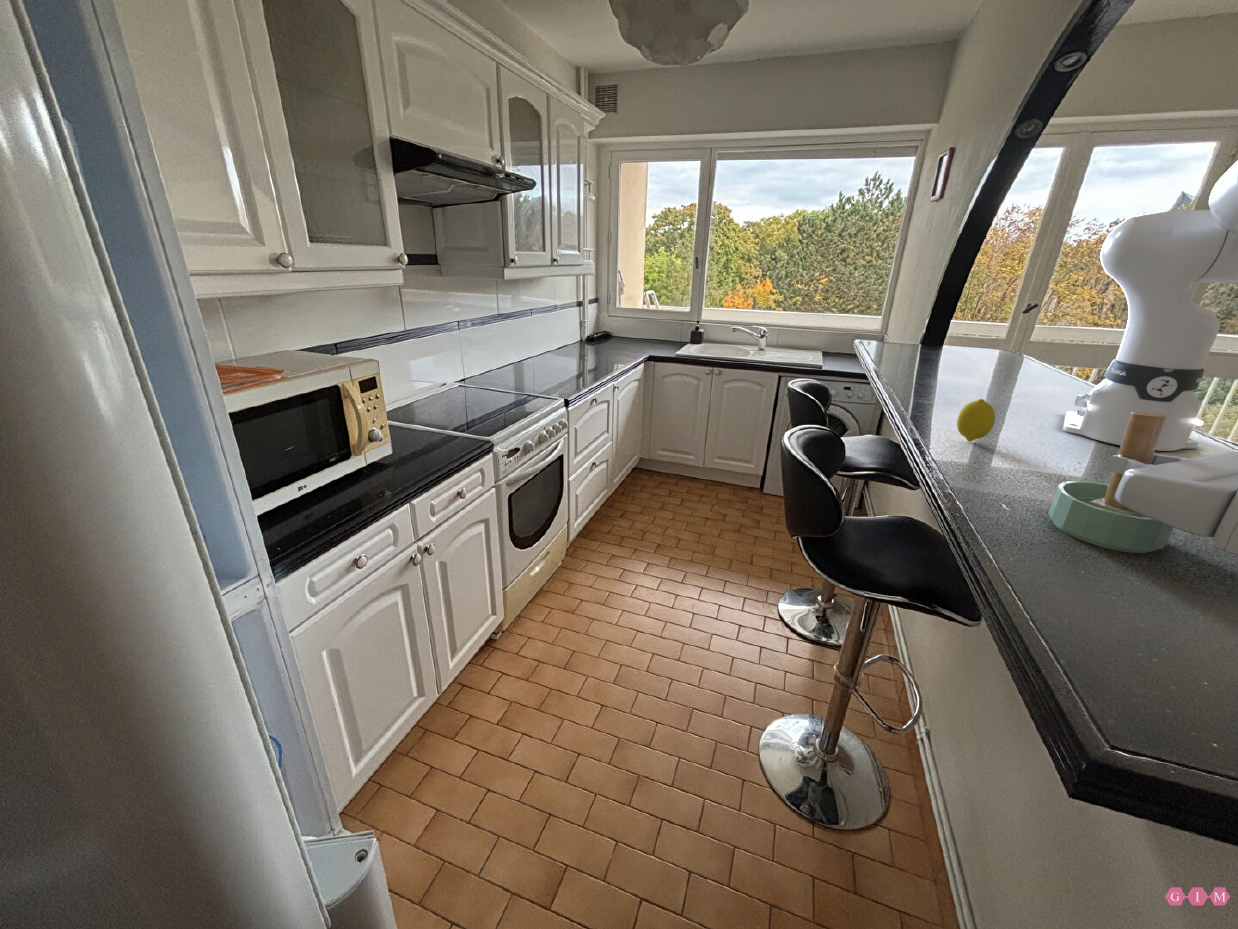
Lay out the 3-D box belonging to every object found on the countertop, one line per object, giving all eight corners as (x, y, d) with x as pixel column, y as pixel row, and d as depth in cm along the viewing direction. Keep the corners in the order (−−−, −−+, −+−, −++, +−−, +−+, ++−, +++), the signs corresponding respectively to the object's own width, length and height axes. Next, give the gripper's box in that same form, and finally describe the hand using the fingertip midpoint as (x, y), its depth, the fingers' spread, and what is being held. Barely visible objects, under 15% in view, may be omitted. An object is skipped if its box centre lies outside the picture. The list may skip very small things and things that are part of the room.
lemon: (993, 447, 90) (1006, 404, 87) (959, 445, 91) (971, 401, 88) (979, 437, 95) (991, 396, 92) (947, 435, 96) (958, 394, 93)
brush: (1101, 518, 63) (1136, 408, 59) (1142, 531, 60) (1182, 415, 55) (1082, 523, 62) (1116, 411, 58) (1123, 537, 58) (1162, 419, 54)
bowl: (1040, 505, 68) (1051, 474, 67) (1145, 525, 64) (1160, 492, 62) (1056, 539, 60) (1069, 505, 58) (1178, 565, 55) (1197, 529, 53)
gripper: (1374, 467, 49) (1187, 425, 61) (1256, 494, 43) (1074, 442, 55) (1338, 524, 51) (1165, 473, 63) (1222, 558, 45) (1055, 494, 57)
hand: (1122, 459), depth 59 cm, fingers closed on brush, 3 cm apart
